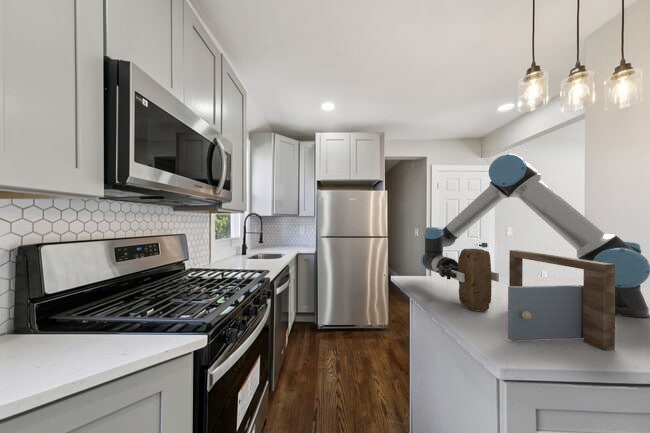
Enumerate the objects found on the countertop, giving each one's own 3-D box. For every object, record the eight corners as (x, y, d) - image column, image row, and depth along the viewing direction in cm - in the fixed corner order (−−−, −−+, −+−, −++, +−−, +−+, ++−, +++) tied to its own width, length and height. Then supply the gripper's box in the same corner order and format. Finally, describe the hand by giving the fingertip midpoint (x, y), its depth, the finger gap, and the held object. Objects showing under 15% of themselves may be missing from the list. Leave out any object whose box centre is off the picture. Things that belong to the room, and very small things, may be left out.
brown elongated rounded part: (493, 312, 89) (493, 251, 89) (470, 312, 89) (470, 250, 89) (475, 302, 100) (475, 247, 100) (454, 302, 100) (455, 247, 100)
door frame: (517, 309, 92) (517, 250, 93) (614, 350, 64) (615, 264, 64) (509, 309, 92) (509, 250, 92) (603, 350, 64) (603, 264, 64)
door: (582, 335, 71) (582, 285, 71) (596, 341, 67) (596, 288, 68) (507, 338, 69) (507, 286, 69) (518, 344, 65) (518, 289, 65)
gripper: (472, 275, 114) (513, 288, 92) (417, 275, 111) (446, 289, 90) (472, 256, 114) (513, 266, 92) (417, 257, 111) (446, 266, 90)
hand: (480, 277), depth 91 cm, fingers open, 11 cm apart
